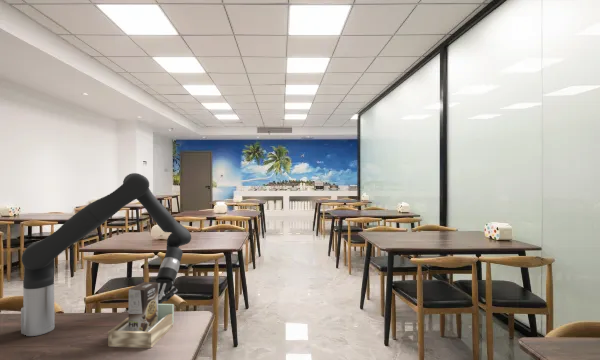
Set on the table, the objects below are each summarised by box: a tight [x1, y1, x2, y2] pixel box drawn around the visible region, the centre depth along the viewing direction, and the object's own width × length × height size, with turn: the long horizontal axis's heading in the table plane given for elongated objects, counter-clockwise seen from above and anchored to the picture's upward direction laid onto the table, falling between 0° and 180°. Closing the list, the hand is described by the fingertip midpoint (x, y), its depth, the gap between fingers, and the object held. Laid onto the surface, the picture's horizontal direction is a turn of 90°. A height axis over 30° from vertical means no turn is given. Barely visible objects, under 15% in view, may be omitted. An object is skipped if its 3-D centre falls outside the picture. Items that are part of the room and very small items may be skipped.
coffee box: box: [128, 281, 158, 332], centre depth 127 cm, size 9×6×16 cm
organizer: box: [107, 313, 174, 349], centre depth 125 cm, size 15×17×5 cm
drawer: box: [117, 303, 175, 332], centre depth 127 cm, size 15×16×7 cm
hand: (155, 310), depth 135 cm, fingers closed
